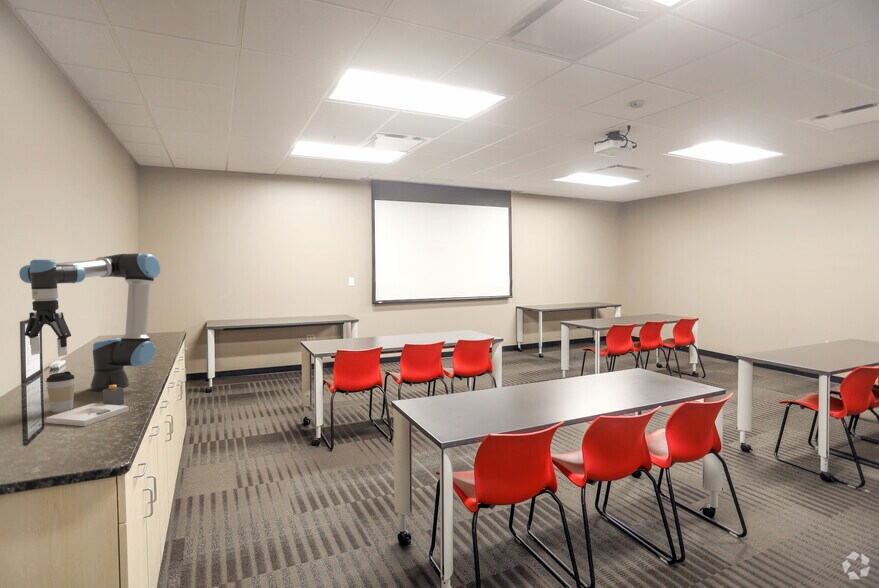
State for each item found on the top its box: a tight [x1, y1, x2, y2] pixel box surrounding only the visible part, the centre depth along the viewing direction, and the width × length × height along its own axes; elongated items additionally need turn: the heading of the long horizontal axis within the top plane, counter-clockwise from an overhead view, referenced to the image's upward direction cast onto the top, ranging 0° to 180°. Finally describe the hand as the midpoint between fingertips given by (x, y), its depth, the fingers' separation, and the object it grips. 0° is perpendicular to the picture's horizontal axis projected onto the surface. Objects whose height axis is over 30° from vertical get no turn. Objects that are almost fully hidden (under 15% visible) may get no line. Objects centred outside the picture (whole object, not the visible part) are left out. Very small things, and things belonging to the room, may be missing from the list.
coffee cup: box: [45, 370, 75, 413], centre depth 187 cm, size 9×9×15 cm
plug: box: [101, 385, 125, 406], centre depth 192 cm, size 5×5×8 cm
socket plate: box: [45, 402, 130, 427], centre depth 178 cm, size 18×18×3 cm
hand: (49, 354), depth 178 cm, fingers open, 13 cm apart
